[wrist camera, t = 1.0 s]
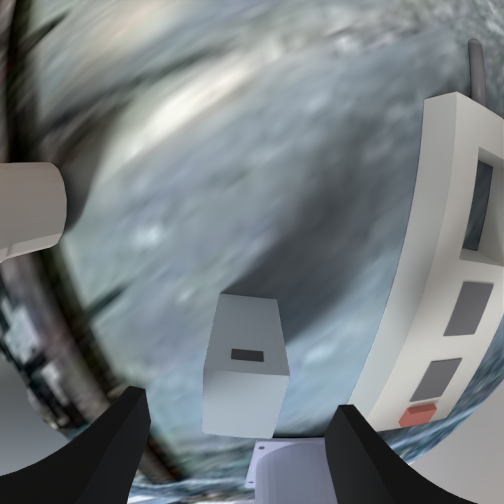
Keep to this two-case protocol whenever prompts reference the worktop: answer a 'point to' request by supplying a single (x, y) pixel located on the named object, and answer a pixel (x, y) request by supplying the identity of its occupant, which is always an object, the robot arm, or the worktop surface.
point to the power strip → (441, 269)
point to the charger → (244, 368)
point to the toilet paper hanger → (30, 207)
